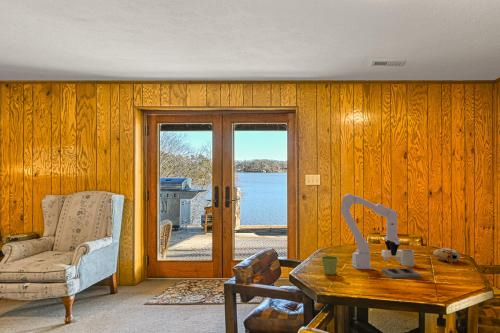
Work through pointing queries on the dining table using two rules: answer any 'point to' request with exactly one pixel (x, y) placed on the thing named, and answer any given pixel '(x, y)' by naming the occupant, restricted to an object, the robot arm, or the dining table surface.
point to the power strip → (387, 254)
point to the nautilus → (447, 254)
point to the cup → (407, 258)
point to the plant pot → (329, 264)
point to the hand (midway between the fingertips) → (392, 254)
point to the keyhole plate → (401, 273)
